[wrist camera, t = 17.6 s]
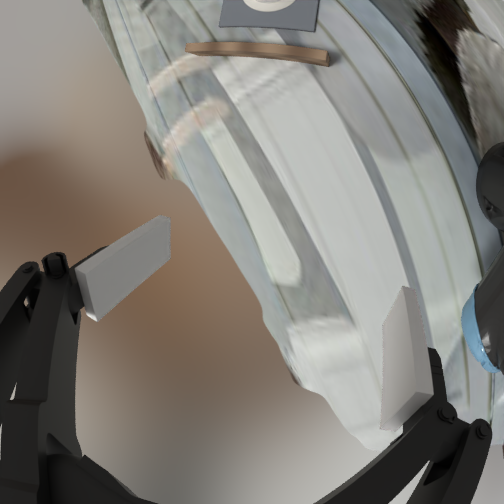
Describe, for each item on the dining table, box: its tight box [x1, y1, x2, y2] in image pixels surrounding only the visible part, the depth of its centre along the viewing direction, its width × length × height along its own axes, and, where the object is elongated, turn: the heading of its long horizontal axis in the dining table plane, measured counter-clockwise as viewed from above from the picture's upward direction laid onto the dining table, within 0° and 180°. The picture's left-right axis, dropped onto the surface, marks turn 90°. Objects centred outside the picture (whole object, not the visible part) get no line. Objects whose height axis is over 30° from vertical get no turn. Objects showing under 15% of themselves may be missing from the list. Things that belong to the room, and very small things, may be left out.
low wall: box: [185, 42, 330, 67], centre depth 35 cm, size 22×2×5 cm, turn 81°
